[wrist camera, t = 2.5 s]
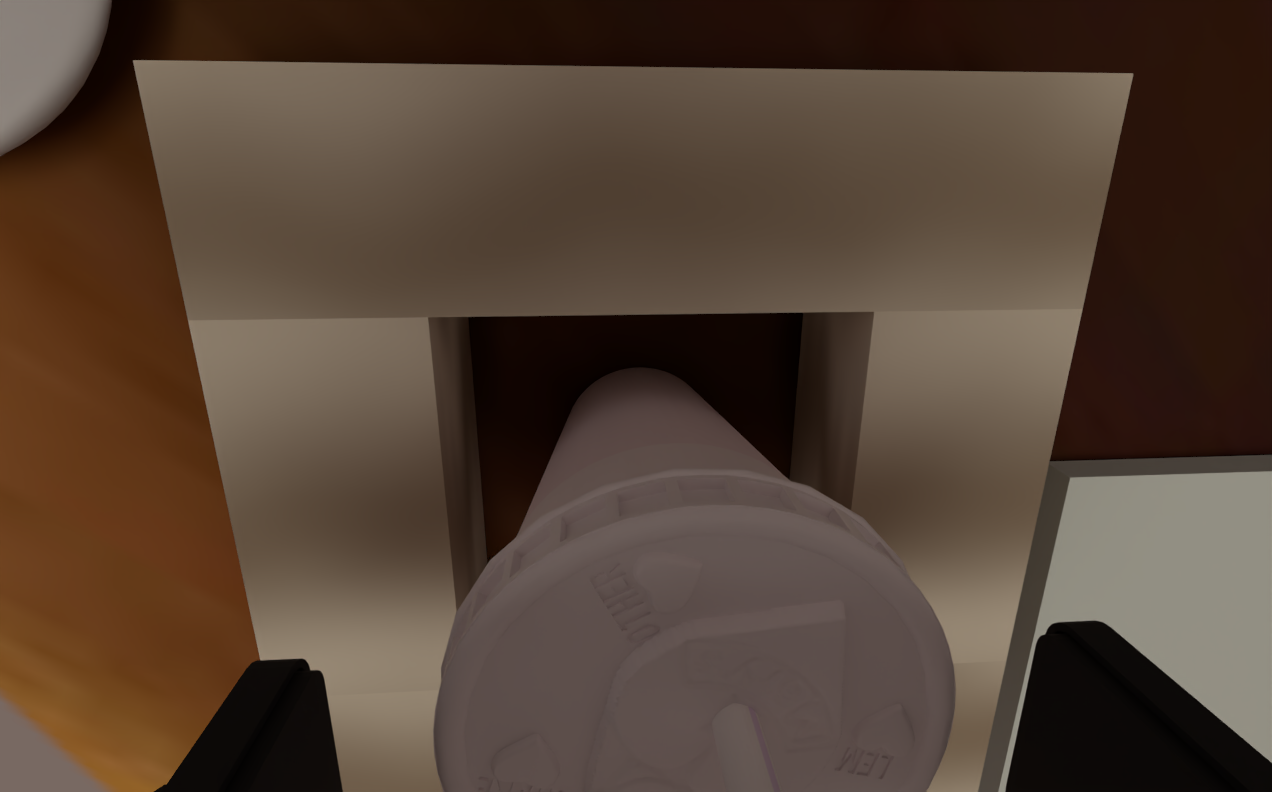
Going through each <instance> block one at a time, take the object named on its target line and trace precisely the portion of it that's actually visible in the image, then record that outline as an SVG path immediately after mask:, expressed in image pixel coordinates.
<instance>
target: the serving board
mask: <svg viewBox="0 0 1272 792" xmlns="http://www.w3.org/2000/svg"><path fill="white" fill-rule="evenodd" d="M1094 620H1096V621H1100V622H1103V623H1105V624H1107V625H1108V626H1110V627H1111V628H1112V629H1113V630H1115V631H1116V632H1117V633H1118V634H1119V635H1121V636H1122V637H1123V638H1124V639H1125V640H1127V641H1128V642H1129V643H1130V644H1131V645H1132V646H1134V647H1135V648H1136V649H1137V650H1138V651H1140V652H1141V653H1142V654H1143V655H1144V656H1146V657H1147V658H1148V659H1149V660H1150V661H1151V662H1153V663H1154V664H1155V665H1156V666H1157V667H1159V668H1160V669H1161V670H1162V671H1163V672H1164V673H1166V674H1167V675H1168V676H1169V677H1170V678H1172V679H1173V680H1174V681H1175V682H1176V683H1178V684H1179V685H1180V686H1181V687H1182V688H1183V689H1185V690H1186V691H1187V692H1188V693H1189V694H1191V695H1192V696H1193V697H1194V698H1195V699H1197V700H1198V701H1199V702H1200V703H1201V704H1202V705H1204V706H1205V707H1206V708H1207V709H1208V710H1210V711H1211V712H1212V713H1213V714H1214V715H1216V716H1217V717H1218V718H1219V719H1220V720H1221V721H1223V722H1224V723H1225V724H1226V725H1227V726H1229V727H1230V728H1231V729H1232V730H1233V731H1235V732H1236V733H1237V734H1238V735H1239V736H1240V737H1242V738H1243V739H1244V740H1245V741H1246V742H1248V743H1249V744H1250V745H1251V746H1252V747H1254V748H1255V749H1256V750H1257V751H1258V752H1259V753H1261V754H1262V755H1263V756H1264V757H1265V758H1267V759H1268V760H1269V761H1270V762H1271V763H1272V455H1249V456H1215V457H1181V458H1148V459H1114V460H1080V461H1049V466H1048V471H1047V475H1046V480H1045V484H1044V489H1043V494H1042V498H1041V503H1040V508H1039V512H1038V517H1037V521H1036V526H1035V531H1034V535H1033V540H1032V544H1031V549H1030V554H1029V558H1028V563H1027V568H1026V572H1025V577H1024V581H1023V586H1022V591H1021V595H1020V600H1019V605H1018V609H1017V614H1016V618H1015V623H1014V628H1013V632H1012V637H1011V641H1010V646H1009V651H1008V655H1007V660H1006V665H1005V669H1004V674H1003V678H1002V683H1001V688H1000V692H999V697H998V702H997V706H996V711H995V715H994V720H993V725H992V729H991V734H990V738H989V743H988V748H987V752H986V757H985V762H984V766H983V771H982V775H981V780H980V785H979V789H978V792H1005V791H1006V783H1007V779H1008V774H1009V769H1010V764H1011V760H1012V755H1013V750H1014V746H1015V741H1016V736H1017V731H1018V727H1019V722H1020V717H1021V713H1022V708H1023V703H1024V698H1025V694H1026V689H1027V684H1028V679H1029V675H1030V670H1031V665H1032V661H1033V656H1034V651H1035V646H1036V643H1037V640H1038V638H1039V637H1040V636H1041V635H1045V634H1046V631H1047V629H1048V628H1049V626H1050V625H1051V624H1053V623H1057V622H1073V621H1094Z"/></svg>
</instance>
